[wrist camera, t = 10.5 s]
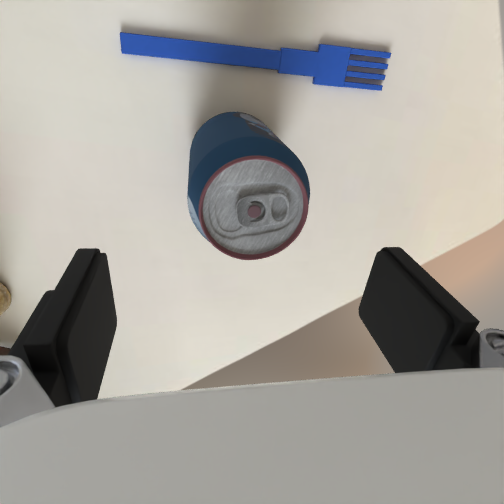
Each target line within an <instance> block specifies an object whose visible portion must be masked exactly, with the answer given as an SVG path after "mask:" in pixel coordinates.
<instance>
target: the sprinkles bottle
mask: <svg viewBox="0 0 504 504" xmlns="http://www.w3.org/2000/svg"><path fill="white" fill-rule="evenodd" d="M10 303H11V295H10V293H9V291H8V290H7V288H6V287H5V286H4V285H2V284H1V283H0V315H1V314H2V313H3V312H4V311H6V310H7V309H8V308H9V306H10Z"/></svg>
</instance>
